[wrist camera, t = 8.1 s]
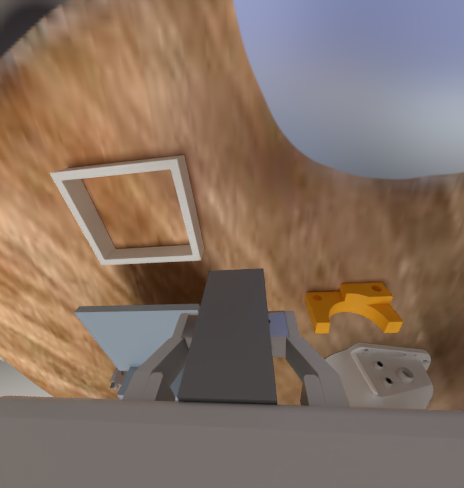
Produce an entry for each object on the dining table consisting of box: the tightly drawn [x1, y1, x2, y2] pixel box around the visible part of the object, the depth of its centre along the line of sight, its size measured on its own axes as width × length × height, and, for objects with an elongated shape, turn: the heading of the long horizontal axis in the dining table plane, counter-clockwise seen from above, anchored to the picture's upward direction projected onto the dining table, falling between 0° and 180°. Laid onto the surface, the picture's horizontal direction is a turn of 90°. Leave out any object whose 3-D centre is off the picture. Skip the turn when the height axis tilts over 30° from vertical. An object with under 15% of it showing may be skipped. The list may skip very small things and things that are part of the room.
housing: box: [50, 155, 205, 265], centre depth 28 cm, size 16×14×3 cm
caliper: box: [110, 367, 128, 389], centre depth 53 cm, size 20×1×6 cm, turn 17°
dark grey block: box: [177, 269, 277, 405], centre depth 11 cm, size 4×4×7 cm
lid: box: [74, 304, 200, 400], centre depth 28 cm, size 17×15×5 cm
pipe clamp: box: [305, 282, 403, 333], centre depth 32 cm, size 12×4×6 cm, turn 96°
